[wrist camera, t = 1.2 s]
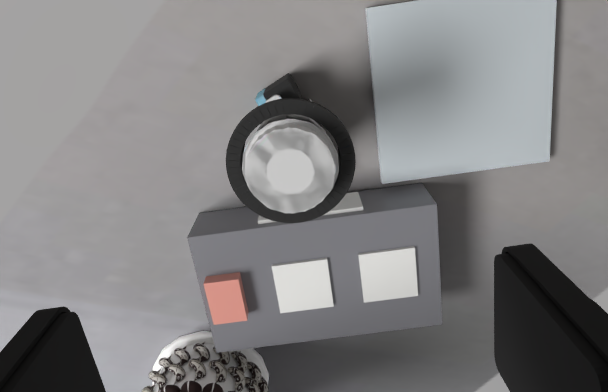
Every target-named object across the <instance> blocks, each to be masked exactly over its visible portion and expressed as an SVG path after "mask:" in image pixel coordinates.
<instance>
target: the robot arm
mask: <svg viewBox="0 0 608 392" xmlns="http://www.w3.org/2000/svg"><path fill="white" fill-rule="evenodd" d="M494 355H495V362H496V366H497V368H498V371H499V373H500V375H501V376H502V378H503V380H504V382H505V383H506V385H507V387H508V389H509V390H510V392H608V314H607V313H606V312H605V311H604V310H603V309H602V308H601V307H600V306H599V305H598V304H597V303H595V302H594V301H593V300H591V299H589V298H588V297H587V296H586V295H585V294H584V293H583V292H582V291H581V290H580V289H579V288H578V287H577V286H576V285H575V284H574V283H573V282H572V281H571V280H570V279H569V278H568V277H567V276H566V275H564V274H563V273H562V272H561V271H560V270H559V269H558V268H557V267H556V266H555V265H554V264H553V263H552V262H551V261H550V260H549V259H548V258H547V257H546V256H545V255H544V254H543V253H542V252H541V251H540V250H539V249H538V248H537V247H535V246H534V245H533V244H524V245H517V246H509V247H504V248H503V250H502V254H500V255H496V256H495V259H494ZM0 392H106V391H105V388H104V385H103V383H102V380H101V377H100V374H99V372H98V369H97V366H96V364H95V361H94V358H93V355H92V353H91V350H90V347H89V344H88V342H87V339H86V336H85V333H84V331H83V328H82V325H81V322H80V320H79V317H78V315H77V314H76V313H75V312H70V310H69V309H68V308H66V307H58V308H50V309H43V310H38V311H36V312H35V313H34V314H33V315H32V316H31V317H30V318H29V320H28V321H27V322H26V323H25V324H24V325H23V327H22V328H21V329H20V330H19V331H18V332H17V334H16V335H15V336H14V337H13V338H12V339H11V340H10V342H9V343H8V344H7V345H6V346H5V347H4V349H3V350H2V351H1V352H0Z"/></svg>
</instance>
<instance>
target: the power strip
mask: <svg viewBox="0 0 608 392" xmlns="http://www.w3.org/2000/svg"><path fill="white" fill-rule="evenodd" d="M187 239H188V242H189V246H190V250H191V254H192V258H193V262H194V266H195V270H196V274H197V278H198V282H199V286H200V290H201V294H202V297H203V301H204V305H205V309H206V313H207V317H208V321H209V325H210V329H211V333H212V337H213V341H214V345H215V348H216V352H217V353H218V352H226V351H234V350H242V349H250V348H258V347H266V346H274V345H282V344H290V343H298V342H306V341H314V340H322V339H331V338H339V337H347V336H355V335H363V334H371V333H379V332H387V331H395V330H403V329H411V328H419V327H427V326H435V325H442V303H441V281H440V259H439V237H438V215H437V203H436V202H435V201H434V199H433V198H432V196H431V195H430V194H429V192H428V191H427V189H426V188H425V187H424V185H423V184H422V183H417V184H409V185H402V186H395V187H387V188H380V189H373V190H365V191H358V192H351V193H346V194H345V196H344V197H343V199H342V200H341V201H340V202H339V203H338V204H337V205H336V206H335V207H334V208H333V209H332V210H330V211H329V212H327V213H326V214H324V215H322V216H320V217H318V218H316V219H313V220H310V221H307V222H301V223H281V222H276V221H272V220H269V219H266V218H264V217H261V216H260V215H258V214H256V213H254V212H253V211H252V210H250V209H249V208H248V207H241V208H233V209H226V210H219V211H211V212H204V213H199V215H198V217H197V219H196V221H195V223H194V225H193V227H192V229H191V231H190V233H189V235H188V237H187Z"/></svg>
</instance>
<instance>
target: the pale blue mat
mask: <svg viewBox="0 0 608 392" xmlns="http://www.w3.org/2000/svg"><path fill="white" fill-rule="evenodd" d="M556 4H557V0H416V1H410V2H403V3H396V4H390V5H383V6H377V7H370V8H365V10H366V21H367V33H368V44H369V55H370V66H371V77H372V89H373V100H374V111H375V122H376V133H377V145H378V156H379V167H380V178H381V182H382V184H386V183H394V182H401V181H408V180H416V179H423V178H430V177H437V176H445V175H452V174H459V173H467V172H474V171H481V170H489V169H496V168H503V167H511V166H518V165H525V164H532V163H540V162H547V161H550V140H551V117H552V95H553V72H554V49H555V27H556Z"/></svg>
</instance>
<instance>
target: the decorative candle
mask: <svg viewBox="0 0 608 392" xmlns="http://www.w3.org/2000/svg"><path fill="white" fill-rule="evenodd" d="M149 378H150V379H151V380H152V381H153V386H147V387H145V388H144V389H143V390H142V392H268V381H269V373H268V370H267V368H266V365H265V363H264V360H263V358H262V356H261V355H260V354H259V353H258V352H257V351H256V350H255V349H254V348H250V349H242V350H234V351H226V352H218V353H217V352H216V348H215V345H214V341H213V337H212V333H211V332H210V331H199V332H195V333H192V334H188V335H184V336H180V337H178V338H177V339H176V340H174V341H173V342H171V343H170V344H169V345H167V346H166V347H164V348H163V349H162V351H161V353H160V355H159V357H158V359H157V360H156V362H155V364H154V366H153V371H151V372H150V373H149Z"/></svg>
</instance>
